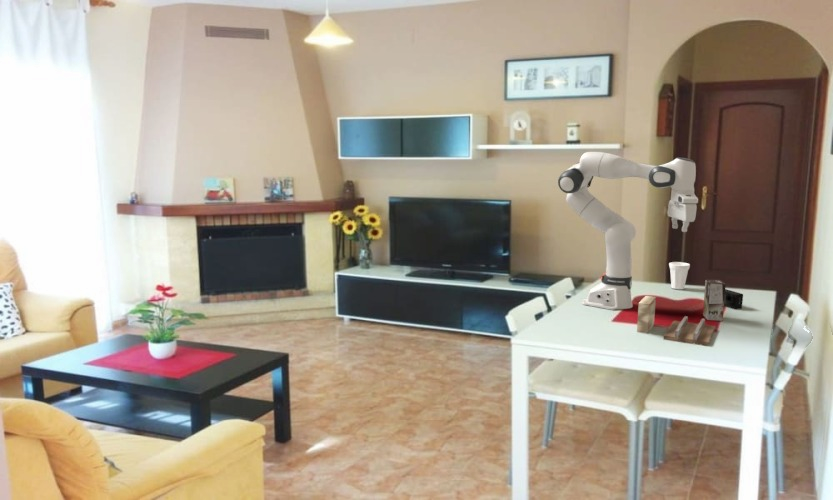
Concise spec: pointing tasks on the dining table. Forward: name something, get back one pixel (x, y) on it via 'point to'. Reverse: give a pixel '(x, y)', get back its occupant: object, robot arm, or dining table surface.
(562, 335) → the dining table surface
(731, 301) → the digital camera
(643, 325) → the door panel
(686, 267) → the cup
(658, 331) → the dining table surface
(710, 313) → the coffee box
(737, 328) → the dining table surface
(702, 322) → the track base
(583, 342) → the dining table surface
